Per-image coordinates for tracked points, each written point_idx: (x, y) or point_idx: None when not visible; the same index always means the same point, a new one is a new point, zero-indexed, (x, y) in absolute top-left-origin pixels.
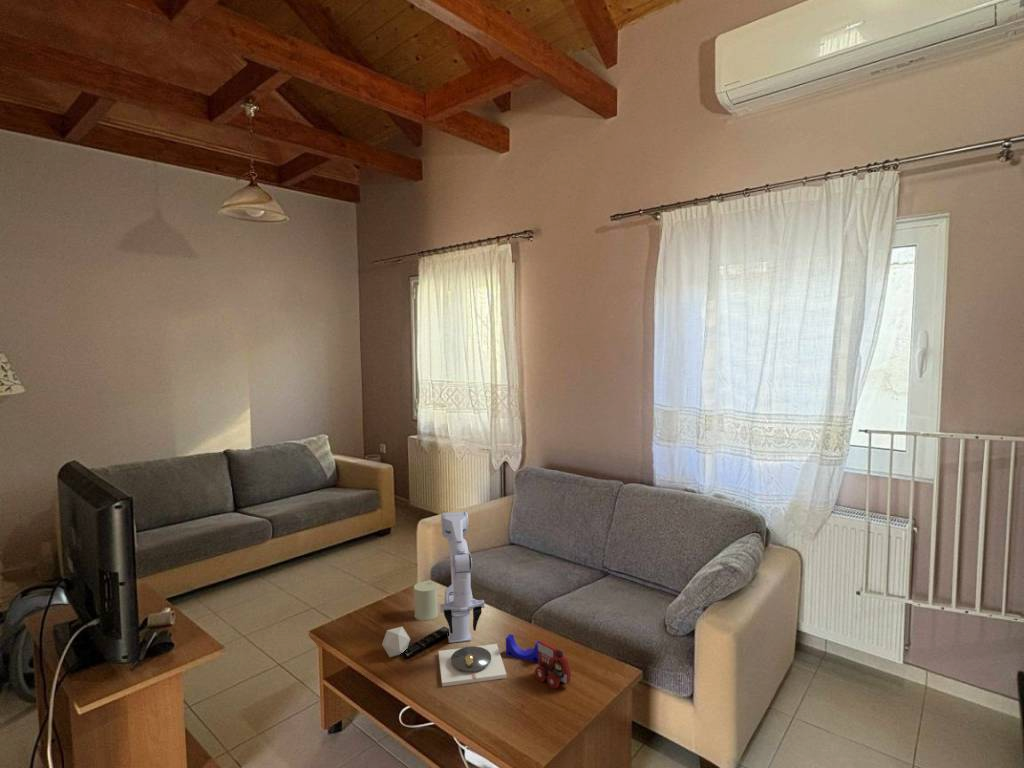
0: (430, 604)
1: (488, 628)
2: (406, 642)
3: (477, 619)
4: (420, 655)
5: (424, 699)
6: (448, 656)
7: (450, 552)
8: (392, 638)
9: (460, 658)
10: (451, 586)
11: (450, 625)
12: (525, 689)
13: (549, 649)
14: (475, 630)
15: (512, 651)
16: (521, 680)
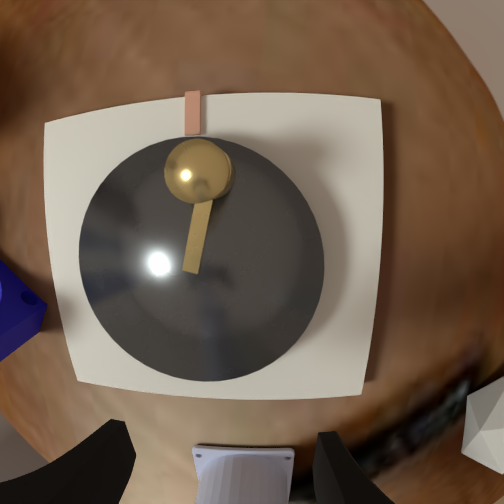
0: None
1: (133, 477)
2: (495, 412)
3: (40, 473)
4: (427, 382)
5: (439, 50)
6: (322, 344)
7: None
8: None
9: (260, 274)
10: None
11: (357, 484)
12: (23, 56)
13: None
14: (110, 419)
15: (12, 293)
16: (17, 109)
